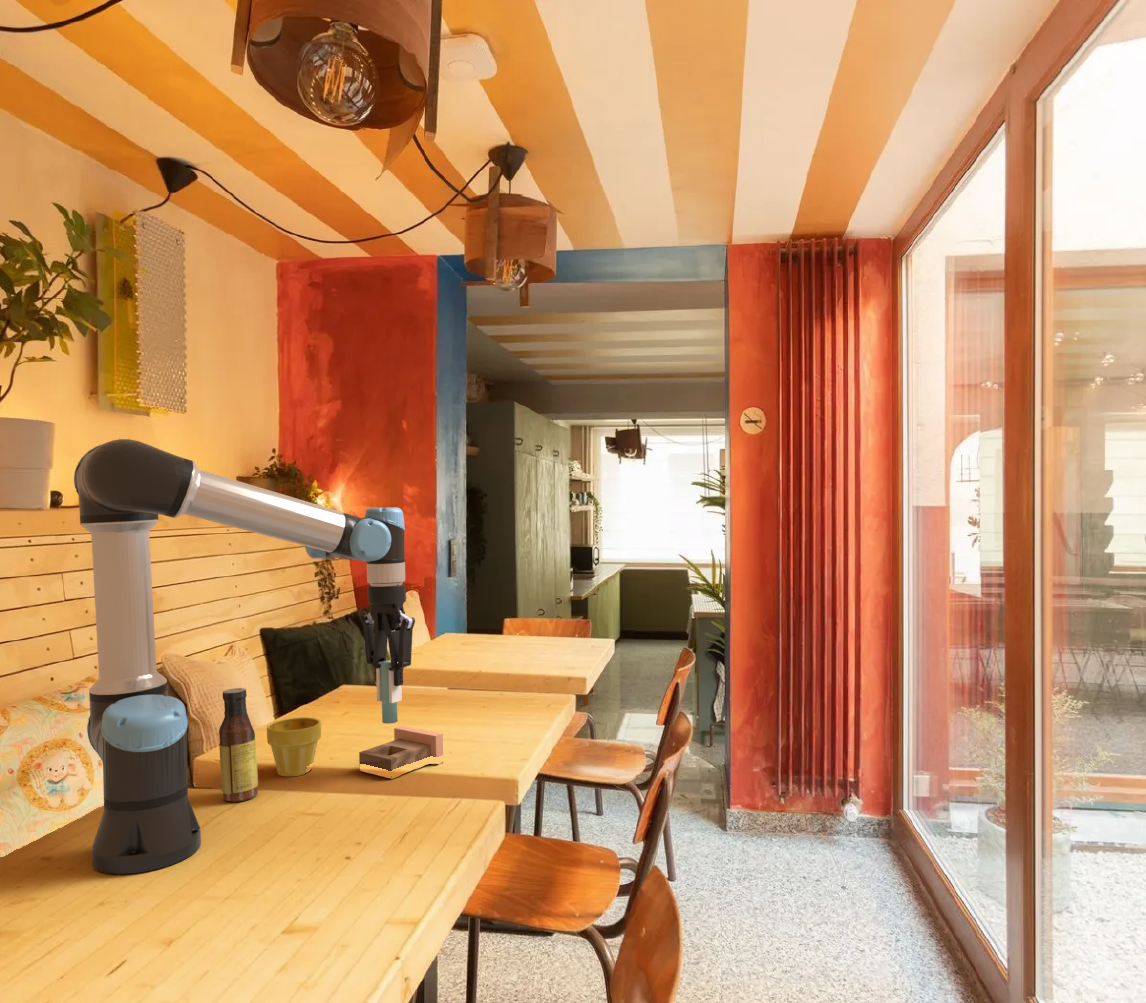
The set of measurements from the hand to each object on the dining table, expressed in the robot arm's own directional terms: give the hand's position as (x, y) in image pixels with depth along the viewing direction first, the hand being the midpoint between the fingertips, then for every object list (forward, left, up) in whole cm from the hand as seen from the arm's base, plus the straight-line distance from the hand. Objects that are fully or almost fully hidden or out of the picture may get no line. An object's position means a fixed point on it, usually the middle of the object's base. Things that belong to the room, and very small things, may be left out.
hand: (389, 700), depth 168 cm
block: (+1, 0, -14) cm, 14 cm away
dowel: (0, 0, -4) cm, 4 cm away
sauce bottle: (-25, +13, -14) cm, 32 cm away
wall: (+8, 0, -14) cm, 16 cm away
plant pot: (-11, +16, -14) cm, 24 cm away
